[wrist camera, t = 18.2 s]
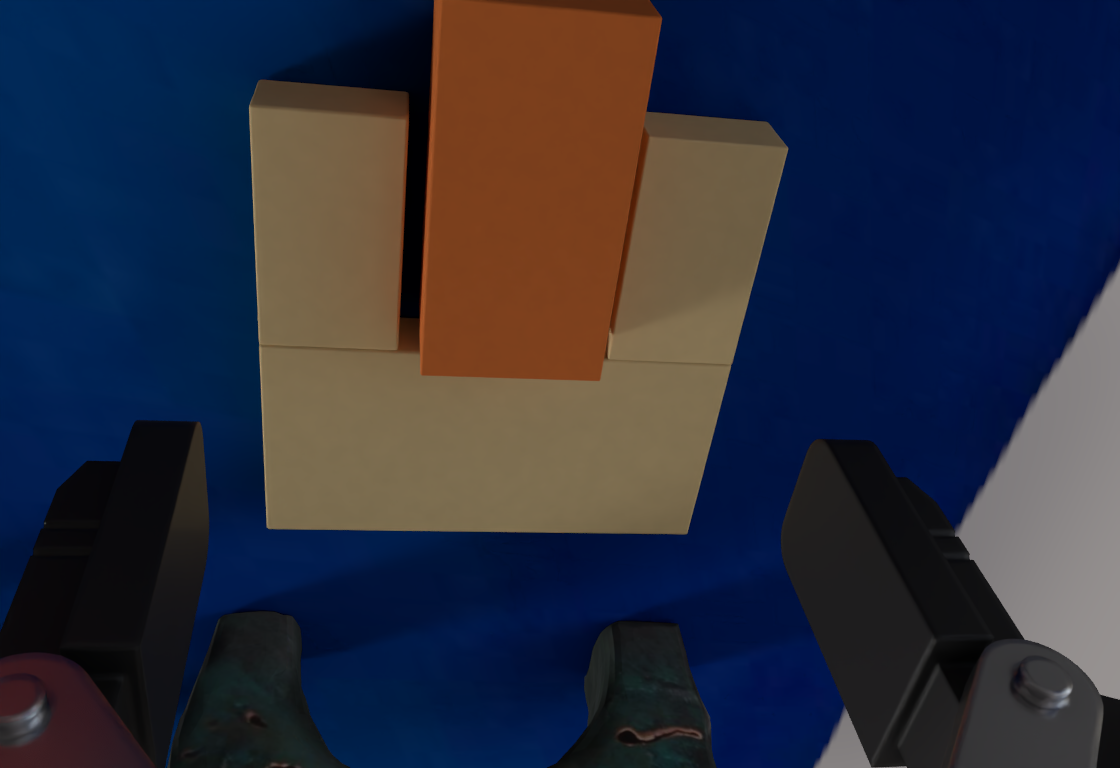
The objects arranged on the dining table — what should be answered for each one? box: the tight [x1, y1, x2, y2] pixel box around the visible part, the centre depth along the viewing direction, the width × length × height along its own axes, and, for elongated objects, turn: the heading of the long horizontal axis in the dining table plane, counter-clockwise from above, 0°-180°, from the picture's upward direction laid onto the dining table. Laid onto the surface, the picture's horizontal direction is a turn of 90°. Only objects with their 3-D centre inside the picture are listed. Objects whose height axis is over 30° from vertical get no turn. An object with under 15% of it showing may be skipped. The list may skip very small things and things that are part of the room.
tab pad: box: [419, 0, 662, 381], centre depth 27 cm, size 5×10×4 cm, turn 173°
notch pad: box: [249, 80, 788, 534], centre depth 31 cm, size 14×14×2 cm
